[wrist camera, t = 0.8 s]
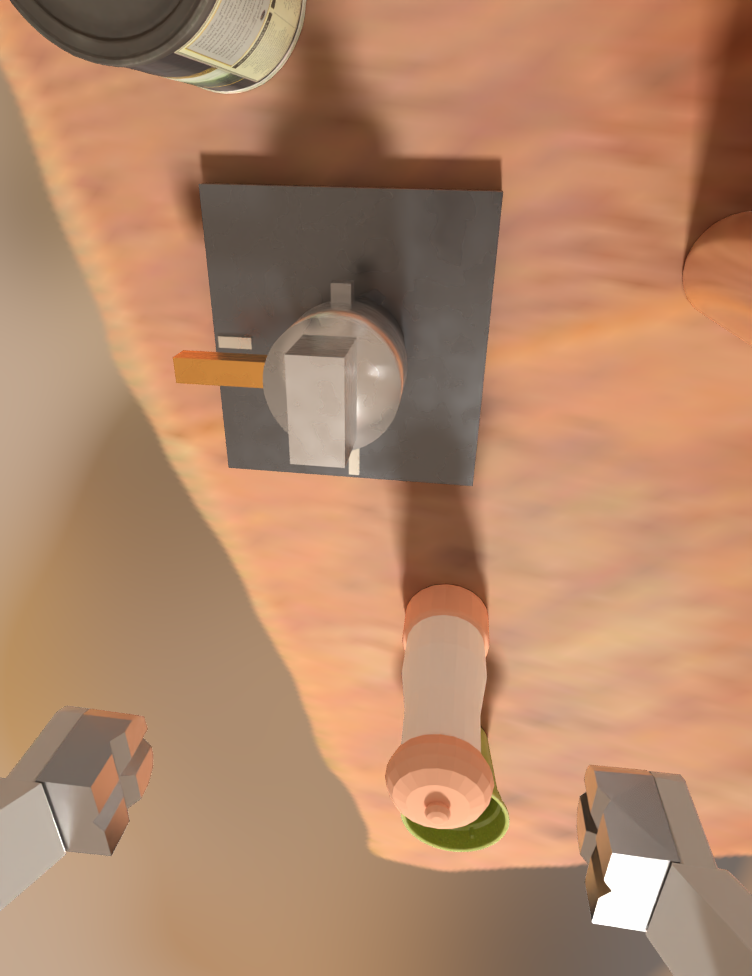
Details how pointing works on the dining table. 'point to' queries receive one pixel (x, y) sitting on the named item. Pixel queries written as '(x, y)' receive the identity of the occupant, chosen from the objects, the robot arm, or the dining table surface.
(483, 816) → the plant pot
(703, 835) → the robot arm
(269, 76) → the coffee can
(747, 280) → the thermos flask
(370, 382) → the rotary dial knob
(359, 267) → the post plate
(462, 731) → the pepper shaker
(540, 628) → the dining table surface
